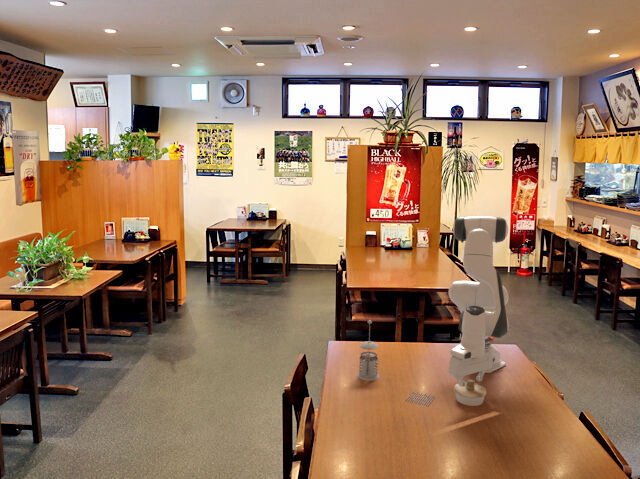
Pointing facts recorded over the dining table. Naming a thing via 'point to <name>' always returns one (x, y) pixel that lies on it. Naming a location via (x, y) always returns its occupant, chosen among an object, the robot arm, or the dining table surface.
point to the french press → (368, 361)
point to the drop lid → (470, 389)
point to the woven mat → (421, 399)
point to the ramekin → (469, 400)
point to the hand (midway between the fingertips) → (470, 383)
